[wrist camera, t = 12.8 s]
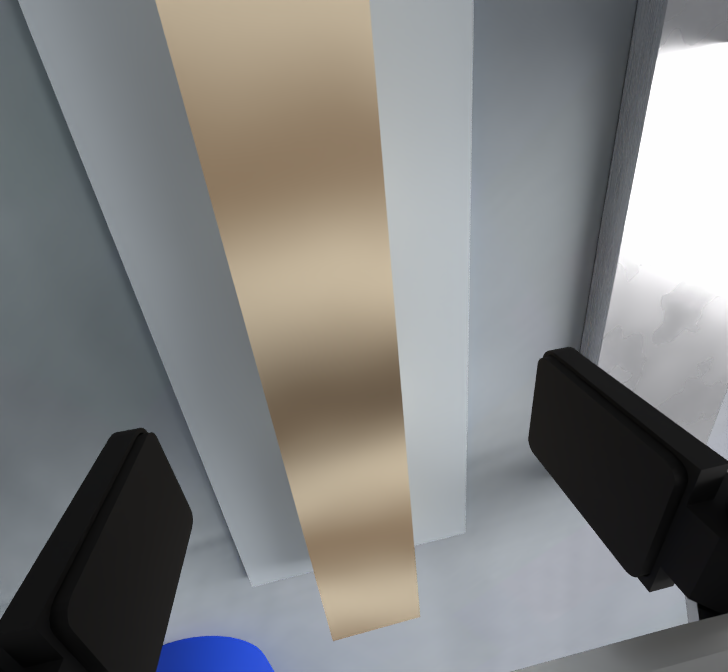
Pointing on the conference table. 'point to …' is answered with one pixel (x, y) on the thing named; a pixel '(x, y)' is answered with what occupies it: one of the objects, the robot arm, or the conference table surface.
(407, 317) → the mat
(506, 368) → the conference table surface
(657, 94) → the rail stand
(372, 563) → the rail
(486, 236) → the conference table surface
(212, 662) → the bracket
